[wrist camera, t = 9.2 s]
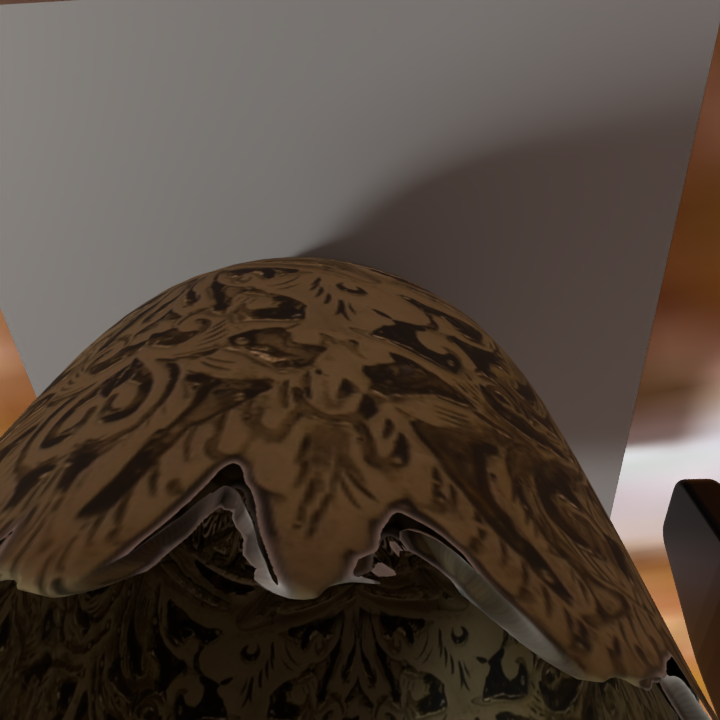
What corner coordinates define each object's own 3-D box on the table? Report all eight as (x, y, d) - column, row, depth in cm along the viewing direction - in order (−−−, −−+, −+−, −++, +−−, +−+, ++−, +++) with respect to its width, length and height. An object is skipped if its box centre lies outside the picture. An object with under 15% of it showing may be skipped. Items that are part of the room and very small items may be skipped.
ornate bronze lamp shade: (15, 191, 10) (-588, 720, 4) (501, 52, 9) (819, 485, 3) (208, 518, 15) (70, 1044, 8) (561, 452, 13) (743, 1011, 7)
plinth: (140, 465, 18) (102, 559, 15) (-15, -17, 12) (-121, 11, 9) (570, 452, 17) (602, 547, 15) (653, -57, 11) (733, -39, 9)
